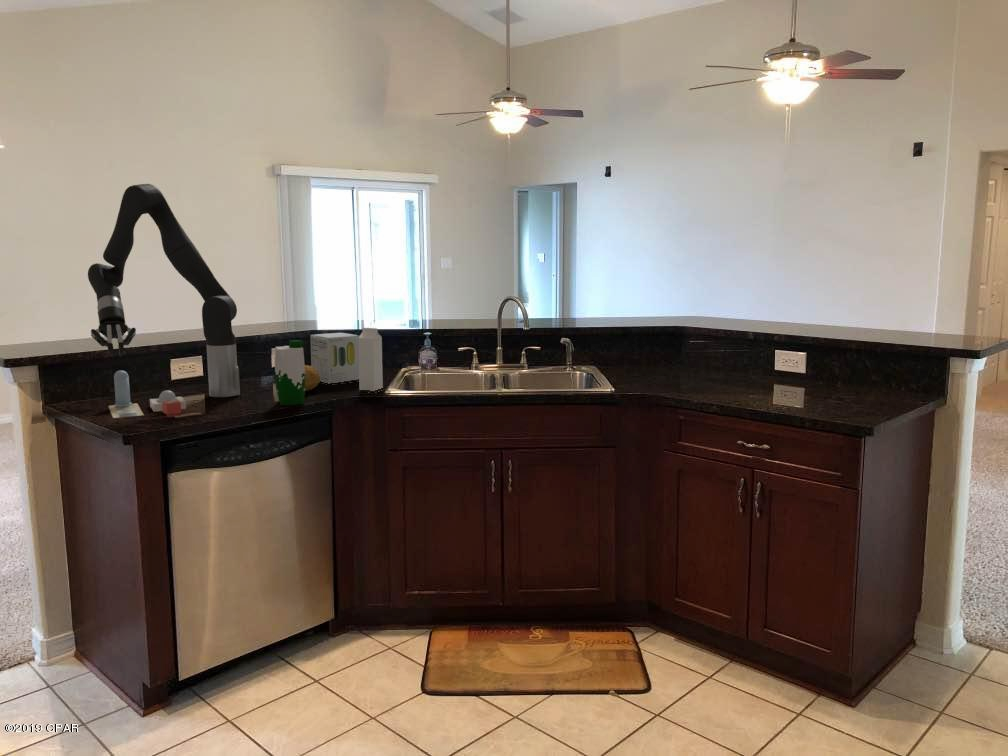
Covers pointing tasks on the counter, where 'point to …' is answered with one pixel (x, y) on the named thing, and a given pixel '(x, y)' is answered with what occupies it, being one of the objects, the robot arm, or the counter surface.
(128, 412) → the track
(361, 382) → the milk
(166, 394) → the light blue rounded piece
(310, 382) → the potato
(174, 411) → the die
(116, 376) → the pawn
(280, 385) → the milk carton
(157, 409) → the base
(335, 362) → the supplement box
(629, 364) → the counter surface
